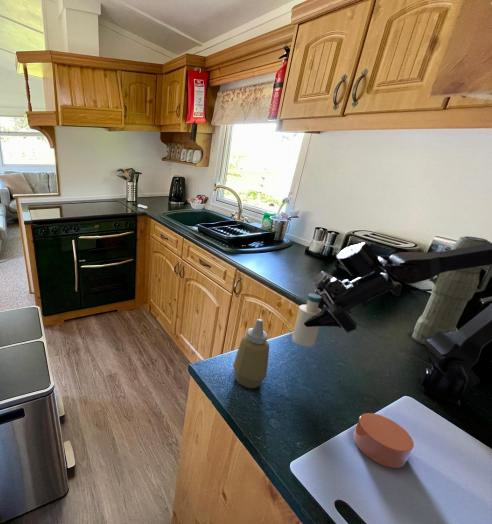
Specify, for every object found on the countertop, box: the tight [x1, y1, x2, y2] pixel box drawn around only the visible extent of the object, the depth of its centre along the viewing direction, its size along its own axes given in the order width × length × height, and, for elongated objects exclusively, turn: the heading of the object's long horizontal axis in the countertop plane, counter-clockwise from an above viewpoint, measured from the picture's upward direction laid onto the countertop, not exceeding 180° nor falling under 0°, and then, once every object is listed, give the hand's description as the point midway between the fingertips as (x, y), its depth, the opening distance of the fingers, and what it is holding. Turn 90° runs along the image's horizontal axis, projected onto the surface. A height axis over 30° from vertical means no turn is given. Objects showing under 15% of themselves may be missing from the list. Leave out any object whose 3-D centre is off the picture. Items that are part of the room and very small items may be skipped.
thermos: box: [411, 235, 492, 346], centre depth 89 cm, size 9×12×35 cm
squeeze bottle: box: [232, 318, 270, 389], centre depth 71 cm, size 8×8×18 cm
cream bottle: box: [291, 292, 322, 348], centre depth 78 cm, size 6×6×14 cm
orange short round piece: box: [352, 412, 415, 469], centre depth 57 cm, size 8×8×4 cm
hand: (302, 319), depth 78 cm, fingers closed on cream bottle, 5 cm apart
